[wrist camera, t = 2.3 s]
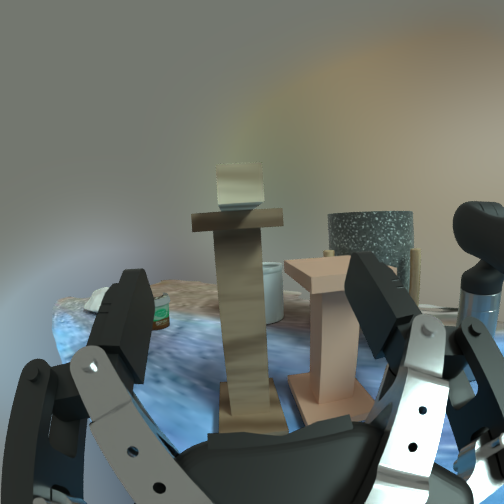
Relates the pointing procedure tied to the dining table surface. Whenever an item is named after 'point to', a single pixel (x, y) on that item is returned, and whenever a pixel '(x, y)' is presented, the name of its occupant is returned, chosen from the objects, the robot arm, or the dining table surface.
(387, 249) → the planter
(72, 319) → the dining table surface
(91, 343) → the robot arm
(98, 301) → the crumpled cloth
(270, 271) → the utensil holder
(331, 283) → the terracotta base stand
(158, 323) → the food container
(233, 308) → the walnut base stand
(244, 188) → the beech bar
